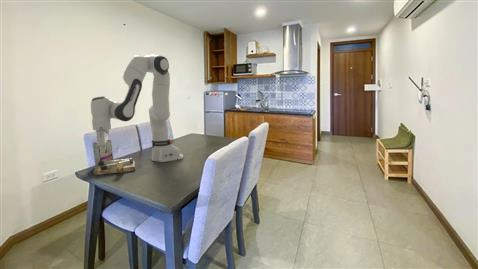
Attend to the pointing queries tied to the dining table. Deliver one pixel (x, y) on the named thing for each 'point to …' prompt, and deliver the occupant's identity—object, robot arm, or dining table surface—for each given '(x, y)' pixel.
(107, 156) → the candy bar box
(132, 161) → the tong frame
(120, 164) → the brass pin
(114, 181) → the dining table surface
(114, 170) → the tong rest
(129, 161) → the tong arm
